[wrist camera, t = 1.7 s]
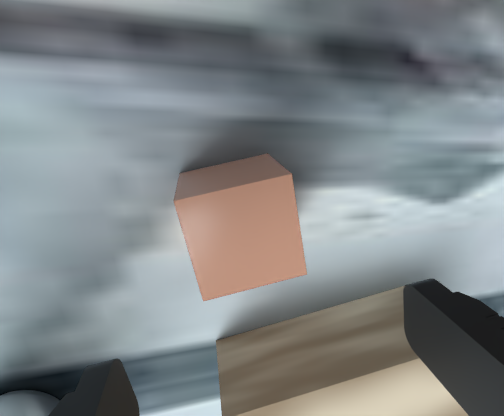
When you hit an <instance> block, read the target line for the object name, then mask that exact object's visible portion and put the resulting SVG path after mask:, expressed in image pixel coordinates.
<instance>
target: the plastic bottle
mask: <svg viewBox="0 0 504 416" xmlns="http://www.w3.org/2000/svg"><path fill="white" fill-rule="evenodd" d="M59 402H60V400H59V399H57V398H56V397H54V396H52V395H50V394H47V393H44V392H40V391H35V390H18V391H12V392H8V393H5V394H3V395H0V416H48V415H49V414H50V413H51V412H52V410H53V409H54V408H55V407H56V405H57V404H58V403H59Z"/></svg>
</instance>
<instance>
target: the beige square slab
mask: <svg viewBox="0 0 504 416" xmlns="http://www.w3.org/2000/svg"><path fill="white" fill-rule="evenodd" d="M404 287H405V286H401V287H398V288H394V289H391V290H388V291H384V292H381V293H377V294H374V295H371V296H367V297H364V298H360V299H357V300H353V301H350V302H347V303H343V304H340V305H336V306H333V307H329V308H326V309H323V310H319V311H316V312H312V313H309V314H306V315H302V316H299V317H295V318H292V319H288V320H285V321H282V322H278V323H275V324H271V325H268V326H264V327H261V328H258V329H254V330H251V331H247V332H244V333H241V334H237V335H234V336H230V337H227V338H223V339H220V340H217V341H216V346H217V359H218V371H219V384H220V397H221V409H222V416H469V415H468V414H467V413H466V412H465V411H464V409H463V408H462V407H461V406H460V405H459V404H458V402H457V401H456V400H455V399H454V398H453V397H452V395H451V394H450V393H449V392H448V391H447V390H446V388H445V387H444V386H443V385H442V384H441V383H440V381H439V380H438V379H437V378H436V377H435V376H434V374H433V373H432V372H431V371H430V370H429V369H428V367H427V366H426V365H425V364H424V363H423V362H422V360H421V359H420V358H419V357H418V356H417V355H416V353H415V352H414V351H413V350H412V348H411V346H410V345H409V343H408V340H407V338H406V335H405V331H404V305H403V289H404Z"/></svg>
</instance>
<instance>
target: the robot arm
mask: <svg viewBox="0 0 504 416" xmlns="http://www.w3.org/2000/svg"><path fill="white" fill-rule="evenodd" d="M403 305H404V331H405V335H406V338H407V340H408V343H409V345H410V346H411V348H412V350H413V351H414V352H415V353H416V355H417V356H418V357H419V358H420V359H421V360H422V362H423V363H424V364H425V365H426V366H427V367H428V369H429V370H430V371H431V372H432V373H433V374H434V376H435V377H436V378H437V379H438V380H439V381H440V383H441V384H442V385H443V386H444V387H445V388H446V390H447V391H448V392H449V393H450V394H451V395H452V397H453V398H454V399H455V400H456V401H457V402H458V404H459V405H460V406H461V407H462V408H463V409H464V411H465V412H466V413H467V414H468V415H469V416H504V317H502V316H501V317H500V316H499V315H498V313H496V312H495V311H494V310H492V309H491V308H489V307H488V306H487V305H485V304H484V303H482V302H481V301H479V300H477V299H475V298H472V297H470V296H467V295H465V294H462V293H460V292H454V293H453V292H451V291H450V290H449V289H447V288H446V287H445V286H443V285H442V284H441V283H439V282H438V281H437V280H435V279H427V280H423V281H420V282H416V283H412V284H408V285H405V287H404V289H403ZM48 416H139V406H138V402H137V398H136V396H135V394H134V391H133V389H132V386H131V384H130V381H129V379H128V376H127V374H126V372H125V369H124V367H123V364H122V362H121V361H120V360H119V359H113V360H109V361H105V362H101V363H97V364H94V365H90V366H87V367H86V368H85V369H84V371H83V374H82V376H81V378H80V381H79V383H78V385H77V388H76V390H75V391H74V392H70V393H67V394H66V395H65V396H64V397H63V398H62V399H61V401H60V402H59V403H58V404H57V405H56V407H55V408H54V409H53V410H52V412H51V413H50V414H49V415H48Z"/></svg>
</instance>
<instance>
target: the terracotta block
mask: <svg viewBox="0 0 504 416" xmlns="http://www.w3.org/2000/svg"><path fill="white" fill-rule="evenodd" d="M174 204H175V207H176V211H177V214H178V218H179V221H180V224H181V228H182V231H183V234H184V238H185V241H186V245H187V248H188V251H189V255H190V258H191V261H192V265H193V268H194V272H195V275H196V278H197V282H198V285H199V288H200V292H201V295H202V299H203V301H207V300H210V299H214V298H218V297H222V296H226V295H230V294H233V293H237V292H241V291H245V290H249V289H253V288H257V287H260V286H264V285H268V284H272V283H276V282H280V281H283V280H287V279H291V278H295V277H299V276H303V275H307V271H306V264H305V258H304V251H303V245H302V238H301V231H300V225H299V218H298V211H297V205H296V198H295V191H294V185H293V178H292V173H290V172H289V171H288V170H287V169H286V168H284V167H283V166H282V165H281V164H280V163H279V162H277V161H276V160H275V159H274V158H273V157H271V156H270V155H269V154H268V153H267V154H263V155H258V156H254V157H250V158H245V159H241V160H236V161H232V162H227V163H223V164H218V165H214V166H210V167H205V168H201V169H196V170H192V171H187V172H183V173H179V178H178V183H177V188H176V192H175V197H174Z"/></svg>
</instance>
